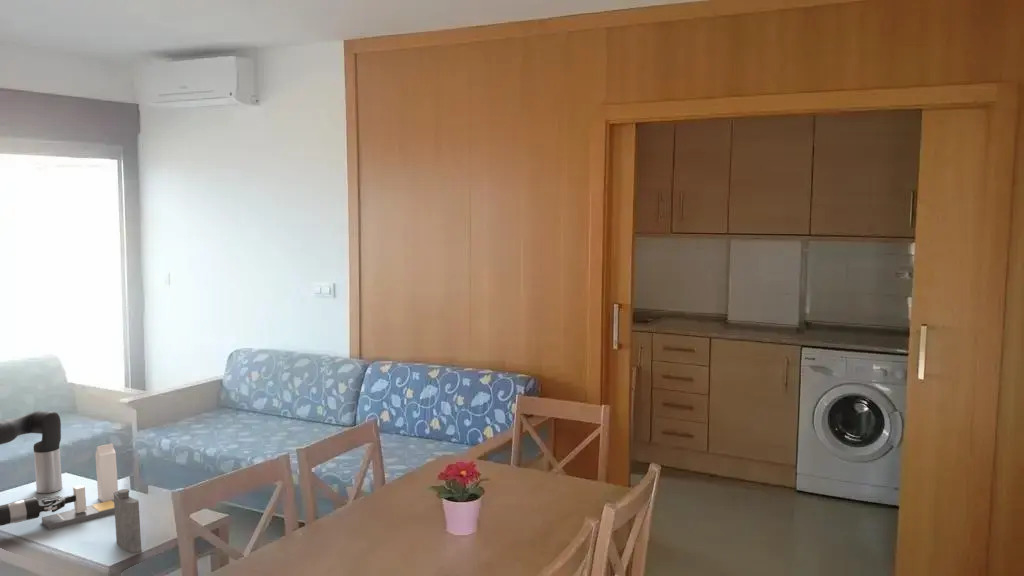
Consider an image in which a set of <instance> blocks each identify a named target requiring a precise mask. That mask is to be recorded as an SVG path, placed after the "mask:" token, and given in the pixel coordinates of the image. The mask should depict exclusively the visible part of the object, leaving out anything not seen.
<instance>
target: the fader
mask: <svg viewBox="0 0 1024 576" xmlns="http://www.w3.org/2000/svg"><path fill="white" fill-rule="evenodd" d="M72 489H73V495H75V496H76V501H75V502H73V504H74V506H73V507H74V509H75V511H76V512H77V513H80V512H84V511H86V506H87V502H86V501H87V499H86V488H85V486H84V485H82V484H80V485H76V486H72Z"/></svg>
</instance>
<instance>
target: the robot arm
mask: <svg viewBox="0 0 1024 576" xmlns="http://www.w3.org/2000/svg"><path fill="white" fill-rule="evenodd" d="M61 422H62V421H61V417H60V415H59V413H58V412H56V411H53V410H52V411H51V410H50V411H49V410H36V411H33V412H29V413H27V414H25V415H21V416H18V417H12V418H11V417H10V418H6V419H0V446H1V445H4V444H8V443H10V442H12V441H14V440H15V439H16V438H18V436H21V435H27V434H40V435H41V440H40V441H37V442H36V443H34V444H33V457H34V471H35V484H36V485H35V487H36V493H38V494H49V493H50V494H51V493H54V492H55V493H56V492H58V491H60V490H62V489H63V480H62V479H63V478H62V477H63V476H62V465H61V463H62V461H61V452H60V451H61V449H60V448H61V447H60V443H61V439H62V424H61ZM75 501H76V496H75V495H74V494H72V495H67V496H61V495H55V496H54V495H50V496H43V497H42V499H40V500H38V498H37V497H36V496H33V497H32V496H31V497H29V498H25V499H24V498H23V499H20V500H16V501H12V502H9V503H5V504H1V505H0V527H2V526H6V525H11V524H18V523H21V522H26V521H29V520H34V519H37V518H39V517H40V515H41V513H43V512H44V513H45V512H46V513H47V512H50V511H51V512H52V513H55V512H57V511H59V510H61V509H62V508H64V507H65V506H66V504H71V503H74V502H75Z"/></svg>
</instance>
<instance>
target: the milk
mask: <svg viewBox="0 0 1024 576" xmlns="http://www.w3.org/2000/svg"><path fill="white" fill-rule="evenodd" d="M94 453H95V454H94V455H95V467H96V483H97V485H96V486H97V498H98V499H99V501H101V503H102V502H106V501H110V500H114V492H116V491H119V484H118V483H119V482H118V470H117V467H118V466H117V455H116V454H117V452H116V450H115V448H114V444H113V443H109V444H104V445H98V446H97V447H96V451H95V452H94Z"/></svg>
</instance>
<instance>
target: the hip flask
mask: <svg viewBox="0 0 1024 576" xmlns="http://www.w3.org/2000/svg"><path fill="white" fill-rule="evenodd" d="M113 500H114V508H115V513H114V520H115V537H116V544H117V545H118V546H119V547H120V548H121V549H123V550H125V551H127V552H129V553H131V554H137V553H140V552H141V551H142V537H141V522H140V521H141V520H140V504H139V499H136V498H133V497H131V496H130V489H129V488H123V489H118V491H116V492H114V499H113Z"/></svg>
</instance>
